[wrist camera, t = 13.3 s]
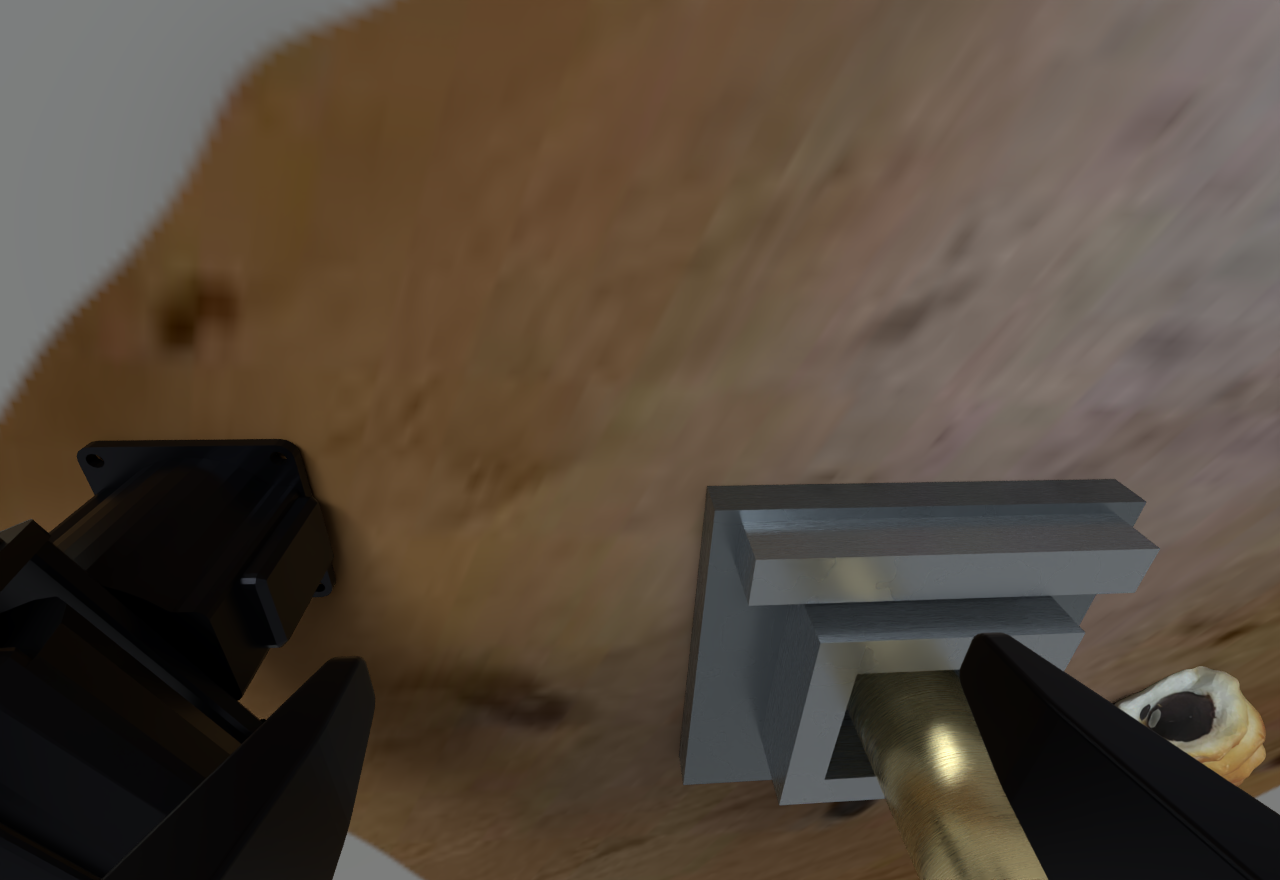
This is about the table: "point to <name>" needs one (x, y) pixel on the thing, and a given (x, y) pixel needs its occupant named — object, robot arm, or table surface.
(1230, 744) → the pastry
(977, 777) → the sleeve
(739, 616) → the jig
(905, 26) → the table surface
